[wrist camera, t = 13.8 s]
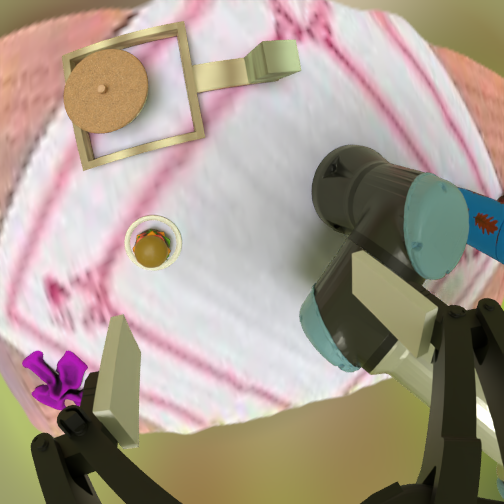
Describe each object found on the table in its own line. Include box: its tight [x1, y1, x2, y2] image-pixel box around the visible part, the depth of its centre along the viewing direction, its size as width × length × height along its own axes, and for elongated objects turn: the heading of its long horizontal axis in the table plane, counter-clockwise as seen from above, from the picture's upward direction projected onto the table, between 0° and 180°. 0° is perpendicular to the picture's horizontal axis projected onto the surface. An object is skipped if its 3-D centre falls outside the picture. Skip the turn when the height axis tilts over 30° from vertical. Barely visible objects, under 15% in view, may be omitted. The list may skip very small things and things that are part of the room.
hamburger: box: [124, 215, 182, 270], centre depth 45 cm, size 12×12×6 cm
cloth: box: [22, 351, 88, 410], centre depth 50 cm, size 22×19×6 cm
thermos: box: [457, 187, 504, 264], centre depth 48 cm, size 11×11×25 cm
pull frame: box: [62, 21, 301, 171], centre depth 33 cm, size 29×17×11 cm, turn 100°
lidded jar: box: [64, 49, 148, 133], centre depth 33 cm, size 11×11×9 cm
